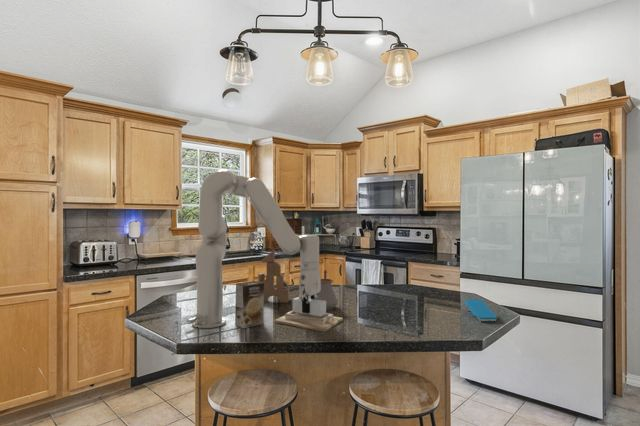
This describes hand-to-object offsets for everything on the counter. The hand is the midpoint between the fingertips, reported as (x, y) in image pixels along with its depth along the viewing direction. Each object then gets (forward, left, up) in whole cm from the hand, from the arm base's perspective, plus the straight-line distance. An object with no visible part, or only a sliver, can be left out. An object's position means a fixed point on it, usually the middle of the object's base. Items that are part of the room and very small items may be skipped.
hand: (309, 310), depth 150 cm
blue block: (+43, -58, -5) cm, 73 cm away
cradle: (0, 0, -4) cm, 4 cm away
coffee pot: (+25, +6, -5) cm, 26 cm away
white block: (0, 0, -1) cm, 1 cm away
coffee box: (-15, +18, -4) cm, 24 cm away
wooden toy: (+20, +32, -5) cm, 38 cm away
